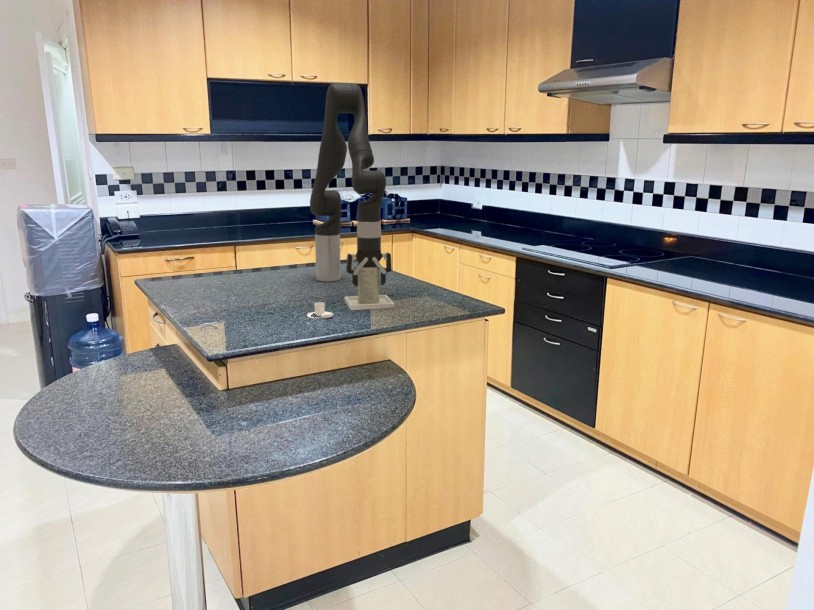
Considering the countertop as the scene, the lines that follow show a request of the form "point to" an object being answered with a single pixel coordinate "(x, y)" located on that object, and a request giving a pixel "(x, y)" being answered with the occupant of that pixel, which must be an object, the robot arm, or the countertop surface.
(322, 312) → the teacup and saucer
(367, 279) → the skincare box
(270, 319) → the countertop surface
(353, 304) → the tray
